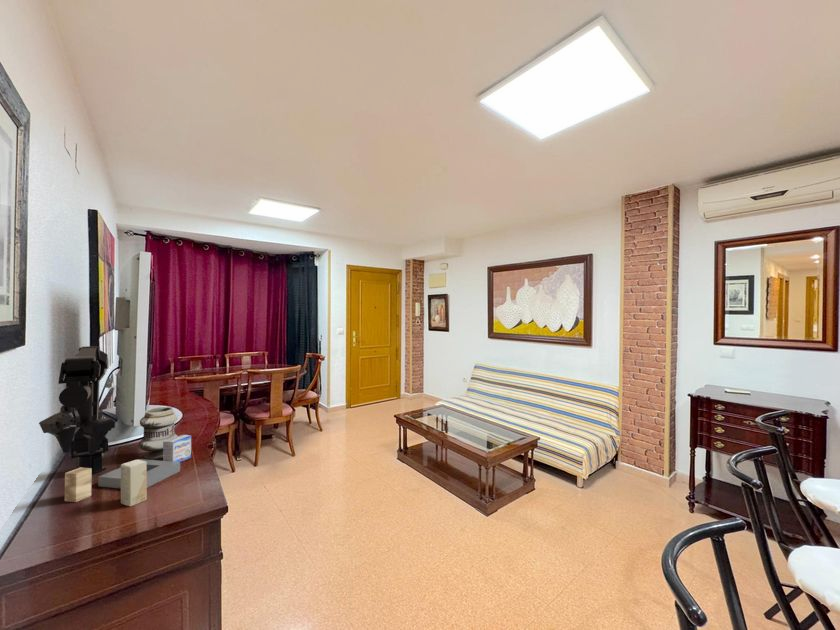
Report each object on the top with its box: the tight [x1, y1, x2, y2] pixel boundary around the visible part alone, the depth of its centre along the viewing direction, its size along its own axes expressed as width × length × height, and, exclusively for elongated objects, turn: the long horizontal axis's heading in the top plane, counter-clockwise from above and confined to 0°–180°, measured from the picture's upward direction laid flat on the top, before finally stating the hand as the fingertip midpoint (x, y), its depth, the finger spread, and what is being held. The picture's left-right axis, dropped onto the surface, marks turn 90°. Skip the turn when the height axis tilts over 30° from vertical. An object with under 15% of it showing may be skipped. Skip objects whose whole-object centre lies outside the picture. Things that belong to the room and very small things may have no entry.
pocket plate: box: [97, 458, 181, 489], centre depth 115 cm, size 16×14×3 cm
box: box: [120, 459, 148, 507], centre depth 100 cm, size 5×4×11 cm
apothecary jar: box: [138, 406, 179, 461], centre depth 134 cm, size 12×12×18 cm
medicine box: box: [162, 434, 192, 463], centre depth 129 cm, size 8×4×9 cm, turn 168°
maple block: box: [64, 467, 93, 503], centre depth 102 cm, size 4×4×8 cm
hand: (78, 453), depth 103 cm, fingers open, 9 cm apart
